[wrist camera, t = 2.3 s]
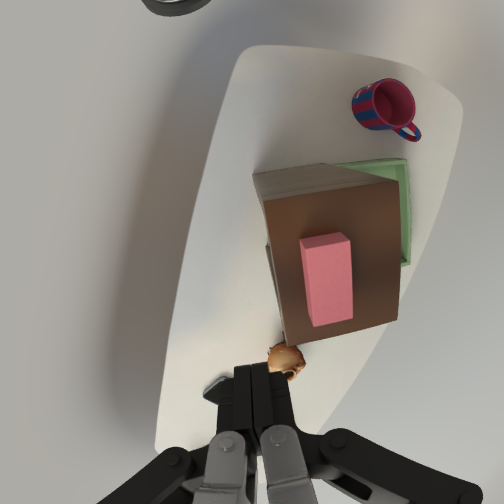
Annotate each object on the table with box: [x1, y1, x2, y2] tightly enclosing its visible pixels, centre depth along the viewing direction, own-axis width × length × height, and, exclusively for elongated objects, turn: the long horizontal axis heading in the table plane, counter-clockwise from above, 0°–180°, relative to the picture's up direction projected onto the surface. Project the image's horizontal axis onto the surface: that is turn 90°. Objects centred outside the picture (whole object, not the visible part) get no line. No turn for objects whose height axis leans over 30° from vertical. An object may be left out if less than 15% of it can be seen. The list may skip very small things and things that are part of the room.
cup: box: [352, 78, 421, 142], centre depth 32 cm, size 7×10×7 cm
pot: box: [268, 331, 306, 381], centre depth 45 cm, size 6×8×6 cm
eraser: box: [299, 232, 353, 327], centre depth 20 cm, size 6×3×2 cm, turn 11°
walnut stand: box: [252, 163, 401, 346], centre depth 30 cm, size 12×10×21 cm
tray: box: [334, 158, 411, 267], centre depth 39 cm, size 16×11×4 cm
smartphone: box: [203, 377, 228, 406], centre depth 52 cm, size 7×1×15 cm
